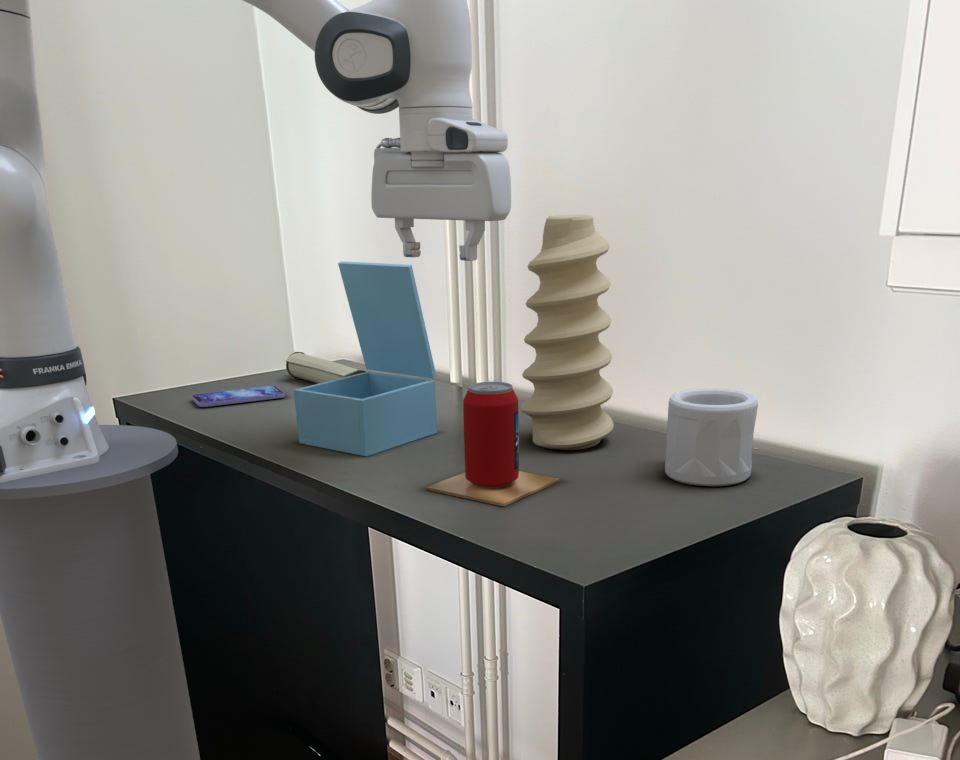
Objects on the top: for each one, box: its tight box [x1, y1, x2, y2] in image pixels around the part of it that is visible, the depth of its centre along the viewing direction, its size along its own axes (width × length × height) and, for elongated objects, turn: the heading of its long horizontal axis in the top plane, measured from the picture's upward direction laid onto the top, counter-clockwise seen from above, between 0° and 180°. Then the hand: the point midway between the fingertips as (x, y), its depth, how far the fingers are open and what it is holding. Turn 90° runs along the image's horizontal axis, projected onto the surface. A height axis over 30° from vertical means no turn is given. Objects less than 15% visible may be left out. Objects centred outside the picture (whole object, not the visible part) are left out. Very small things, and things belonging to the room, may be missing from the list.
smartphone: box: [191, 384, 285, 408], centre depth 174 cm, size 7×1×15 cm
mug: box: [664, 388, 759, 487], centre depth 125 cm, size 14×11×10 cm
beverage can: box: [462, 381, 520, 488], centre depth 122 cm, size 7×7×12 cm
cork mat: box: [426, 470, 561, 508], centre depth 125 cm, size 12×12×1 cm
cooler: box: [293, 371, 438, 457], centre depth 146 cm, size 16×14×8 cm
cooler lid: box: [337, 260, 437, 379], centre depth 145 cm, size 16×14×1 cm
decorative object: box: [520, 214, 615, 451], centre depth 137 cm, size 13×13×30 cm
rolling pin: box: [285, 351, 367, 384], centre depth 180 cm, size 32×6×5 cm, turn 34°
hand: (439, 258), depth 125 cm, fingers open, 8 cm apart
